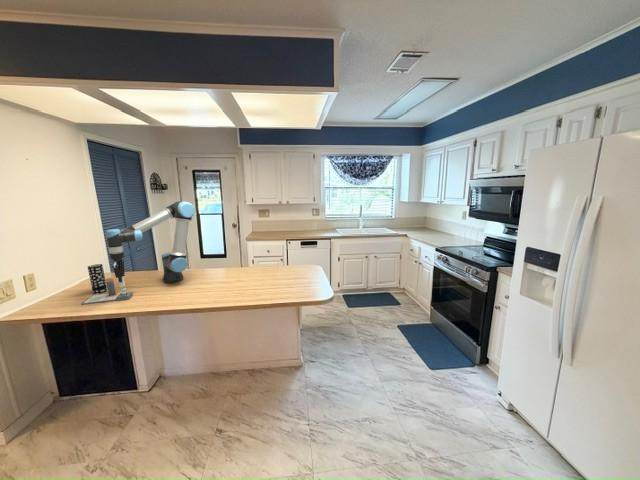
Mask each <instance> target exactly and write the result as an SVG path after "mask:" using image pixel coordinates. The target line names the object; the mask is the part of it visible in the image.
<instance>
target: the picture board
mask: <svg viewBox="0 0 640 480" xmlns="http://www.w3.org/2000/svg"><path fill="white" fill-rule="evenodd" d="M115 292H116V295H114V296H109V294H108V292H107V293H100V294H92V295H91V296H90V297H88V298H87V299H85V301H83V302H82V303H81V306H83V305H93V304H101V303H110V302H118V301H117V299H116V297H117V296H118V295H119V294H120V293H122V291H115Z"/></svg>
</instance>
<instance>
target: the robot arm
mask: <svg viewBox="0 0 640 480" xmlns="http://www.w3.org/2000/svg"><path fill="white" fill-rule="evenodd" d="M195 209H196V208H195V206H194V204H192V203H191V202H190V201H189V202H188V201H182V200H181V201H176V202H173V203H171V204H169V205H168V206H166V207H165V208H164V209H163V210H161V211H159V212H157V213H155V214H153V215H151V216H148V217H147V218H145V219H143V220H141V221H139V222H137V223H135V224H133V225H131V226H129V227H125V228H123V229H121V230H120V229H119V228H115V229H114V228H113V229H107V230H106V231H105V236H106V242H107V250H108V253H109V259H110V260H113V263H112V264H111V267H112V269H113V272H114V275H115V278H116V279H117V282H118V287H122V288H123V287H125V286H126V284H125V279H124V278H125V276H126V275H125V259H124V260H123V258H124V257H125V254H124V247H123V244H125V243H132V242H133V243H134V242H140V241H143V236H144V235H143V233H144V232H146V231H149V230H150V229H152V228H154V227H156V226H158V225H160V224H162V223H164V222H166V221H168V220H169V219H175V220H176V222H175V223H176V224H175V229H174V237H173V242H172V243H173V244H172V251H171V252H165V253H163V254H161V261H162V268H163V276H162V283H164V284H172V283H177V282H180V281H183V280H184V279H185V277H184V276H185V275H184V274H183V272H184V271H185V270H186V269H187V267H188V260H187V255H188V254H186V245H187V239H188V230H189V223H190V222H191V221H192V218H193V216H194V215H195V213H196V210H195ZM183 278H184V279H183ZM182 279H183V280H182Z"/></svg>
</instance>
